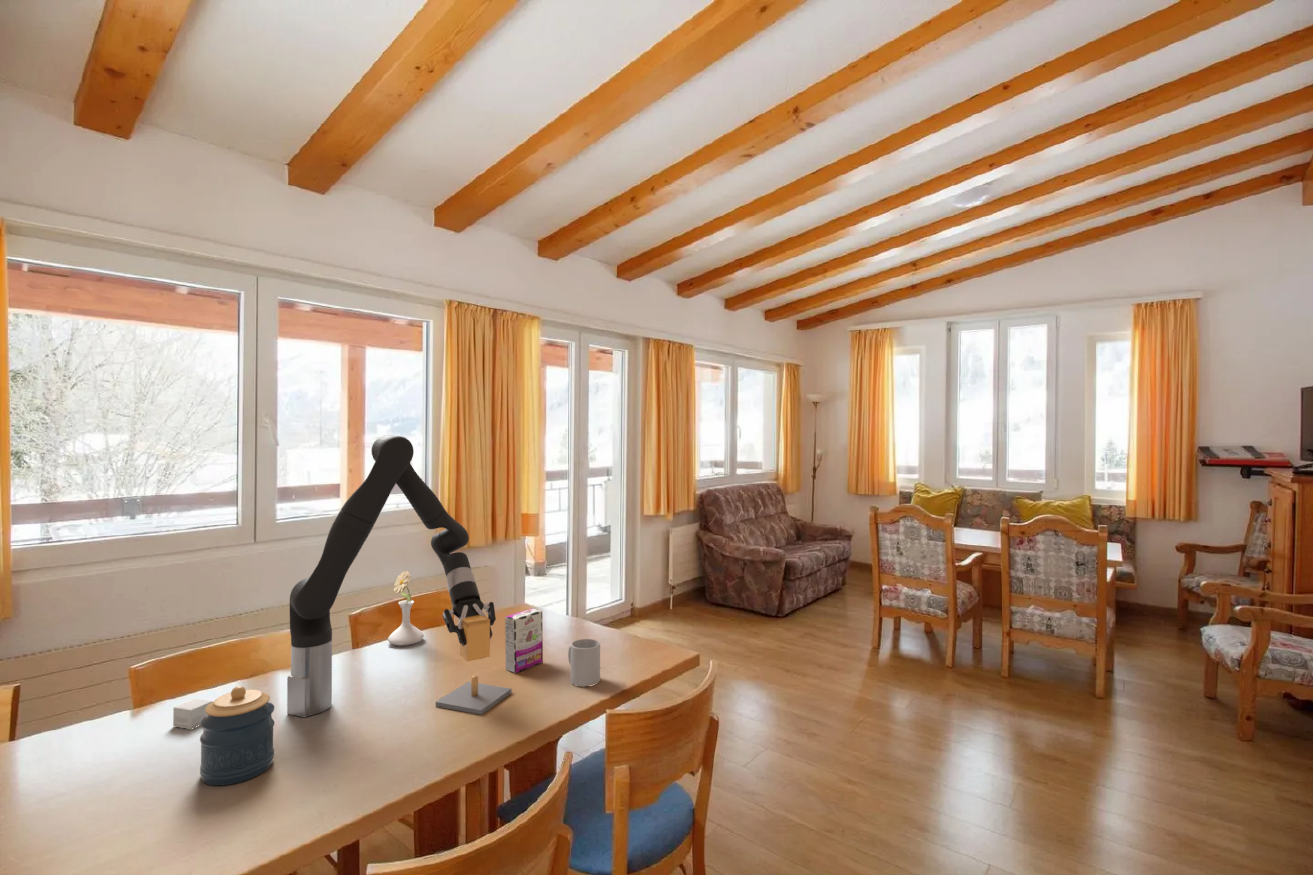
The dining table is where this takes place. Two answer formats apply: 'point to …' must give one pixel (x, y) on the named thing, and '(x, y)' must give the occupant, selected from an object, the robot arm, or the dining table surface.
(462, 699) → the peg plate
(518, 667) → the candy bar box
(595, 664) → the mug
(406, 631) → the flower in vase
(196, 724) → the small box
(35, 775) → the dining table surface
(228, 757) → the canister
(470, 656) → the upright tan block
